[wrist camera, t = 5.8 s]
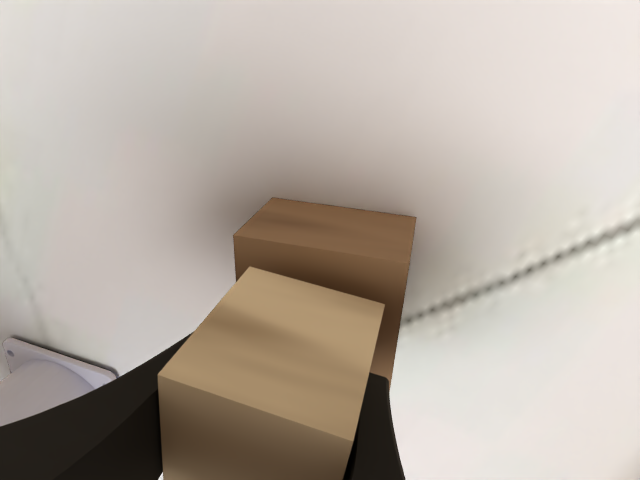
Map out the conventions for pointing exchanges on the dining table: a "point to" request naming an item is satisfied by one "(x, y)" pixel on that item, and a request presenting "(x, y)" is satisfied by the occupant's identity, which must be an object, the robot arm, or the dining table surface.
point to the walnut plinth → (335, 257)
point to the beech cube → (268, 383)
